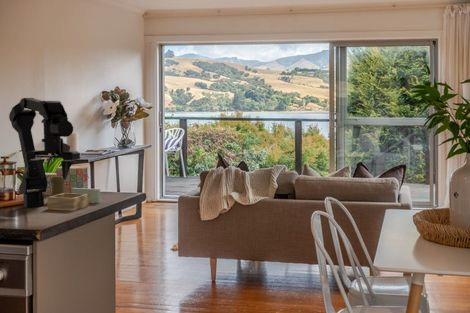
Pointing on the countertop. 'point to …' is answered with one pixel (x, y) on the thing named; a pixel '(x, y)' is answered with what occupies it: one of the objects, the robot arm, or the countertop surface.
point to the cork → (57, 185)
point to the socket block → (68, 201)
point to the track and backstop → (93, 193)
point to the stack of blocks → (69, 179)
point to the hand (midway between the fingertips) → (53, 179)
